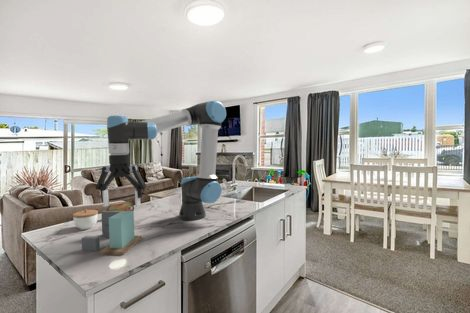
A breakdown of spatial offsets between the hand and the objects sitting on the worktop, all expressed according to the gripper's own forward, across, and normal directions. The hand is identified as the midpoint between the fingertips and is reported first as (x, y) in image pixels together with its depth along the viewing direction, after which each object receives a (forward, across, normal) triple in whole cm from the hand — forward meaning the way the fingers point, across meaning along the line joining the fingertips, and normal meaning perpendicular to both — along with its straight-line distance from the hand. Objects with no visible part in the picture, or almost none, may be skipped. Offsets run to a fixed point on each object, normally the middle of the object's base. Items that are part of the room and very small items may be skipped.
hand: (122, 205), depth 98 cm
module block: (+15, 0, 0) cm, 15 cm away
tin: (+17, -23, +39) cm, 48 cm away
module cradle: (+16, -11, +3) cm, 20 cm away
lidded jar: (+17, -31, +21) cm, 41 cm away
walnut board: (+17, 0, 0) cm, 17 cm away
